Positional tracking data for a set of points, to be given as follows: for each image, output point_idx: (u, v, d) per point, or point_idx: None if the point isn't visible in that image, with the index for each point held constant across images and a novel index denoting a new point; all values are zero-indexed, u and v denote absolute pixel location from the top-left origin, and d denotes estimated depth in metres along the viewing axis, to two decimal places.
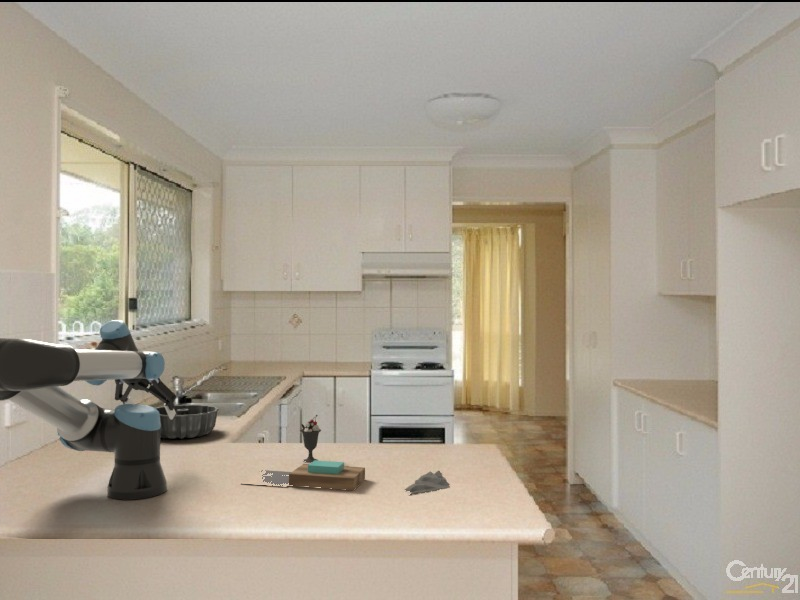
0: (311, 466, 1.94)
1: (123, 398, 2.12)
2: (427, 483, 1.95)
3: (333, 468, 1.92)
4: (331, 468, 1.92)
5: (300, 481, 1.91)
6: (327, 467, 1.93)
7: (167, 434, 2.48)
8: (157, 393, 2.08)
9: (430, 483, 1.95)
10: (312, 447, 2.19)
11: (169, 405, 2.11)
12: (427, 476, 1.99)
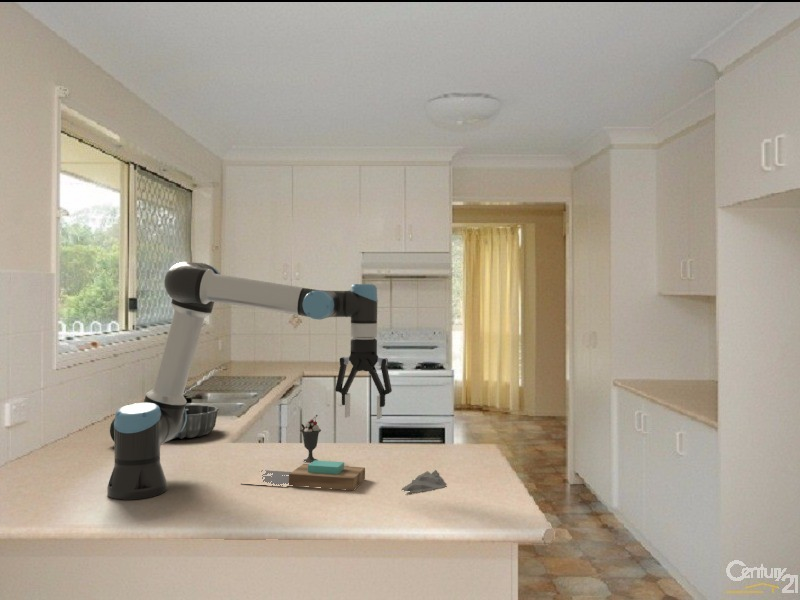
0: (311, 466, 1.94)
1: (345, 387, 1.93)
2: (424, 483, 1.96)
3: (333, 468, 1.92)
4: (331, 468, 1.92)
5: (300, 481, 1.91)
6: (327, 467, 1.93)
7: None
8: (377, 379, 1.91)
9: (427, 483, 1.96)
10: (312, 447, 2.19)
11: (382, 399, 1.91)
12: (424, 476, 2.00)
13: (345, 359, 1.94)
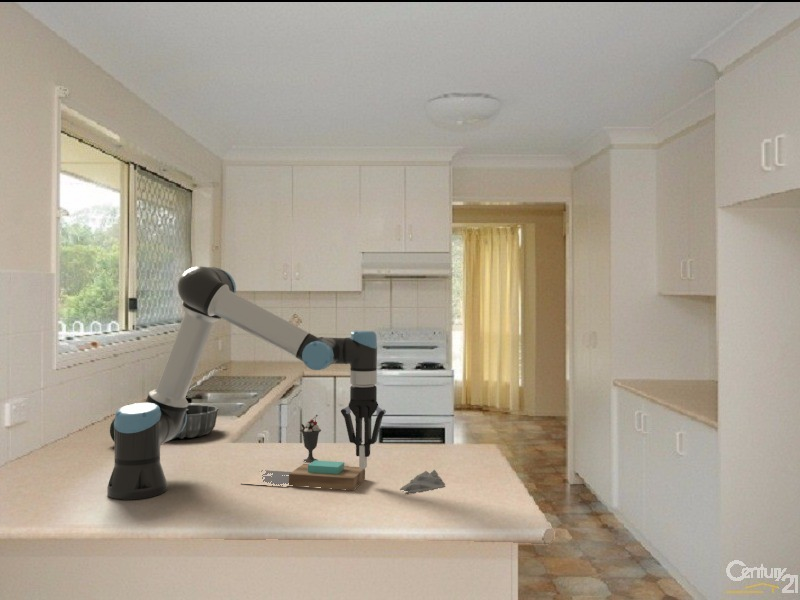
0: (311, 466, 1.94)
1: (357, 438, 1.92)
2: (422, 482, 1.96)
3: (333, 468, 1.92)
4: (331, 468, 1.92)
5: (300, 481, 1.91)
6: (327, 467, 1.93)
7: None
8: (368, 429, 1.92)
9: (425, 482, 1.96)
10: (312, 447, 2.19)
11: (367, 449, 1.92)
12: (423, 475, 2.00)
13: (346, 409, 1.94)
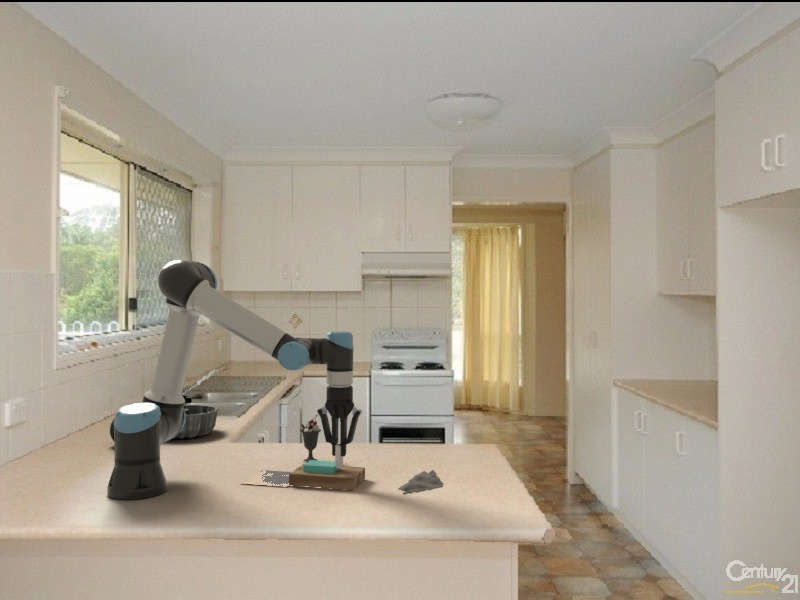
0: (307, 466, 1.94)
1: (333, 438, 1.94)
2: (421, 482, 1.96)
3: (329, 468, 1.92)
4: (327, 468, 1.93)
5: (300, 481, 1.91)
6: (323, 467, 1.93)
7: None
8: (344, 429, 1.94)
9: (424, 482, 1.96)
10: (312, 447, 2.19)
11: (343, 448, 1.94)
12: (421, 475, 2.00)
13: (322, 409, 1.95)
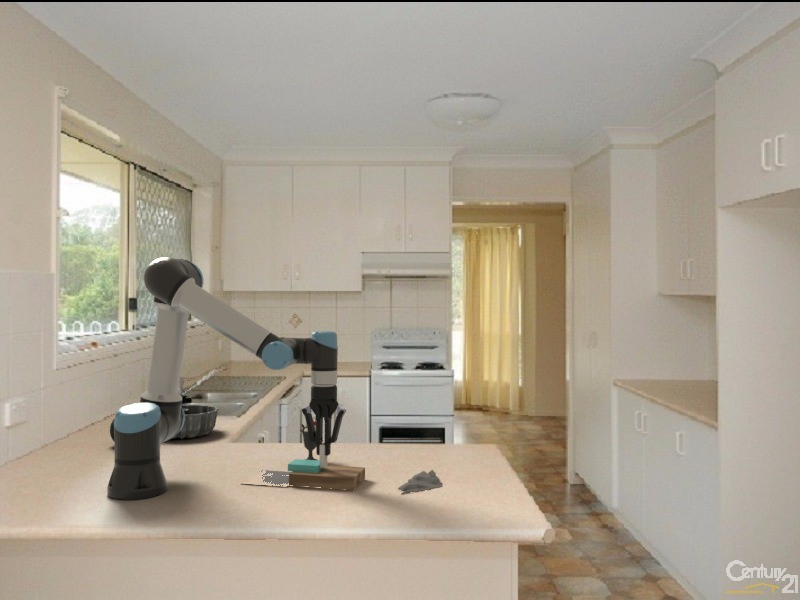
0: (291, 465, 1.95)
1: (317, 437, 1.95)
2: (420, 482, 1.96)
3: (313, 467, 1.93)
4: (311, 467, 1.94)
5: (300, 481, 1.91)
6: (307, 466, 1.94)
7: None
8: (329, 428, 1.95)
9: (423, 482, 1.96)
10: (312, 447, 2.19)
11: (327, 447, 1.95)
12: (420, 475, 2.00)
13: (307, 408, 1.96)
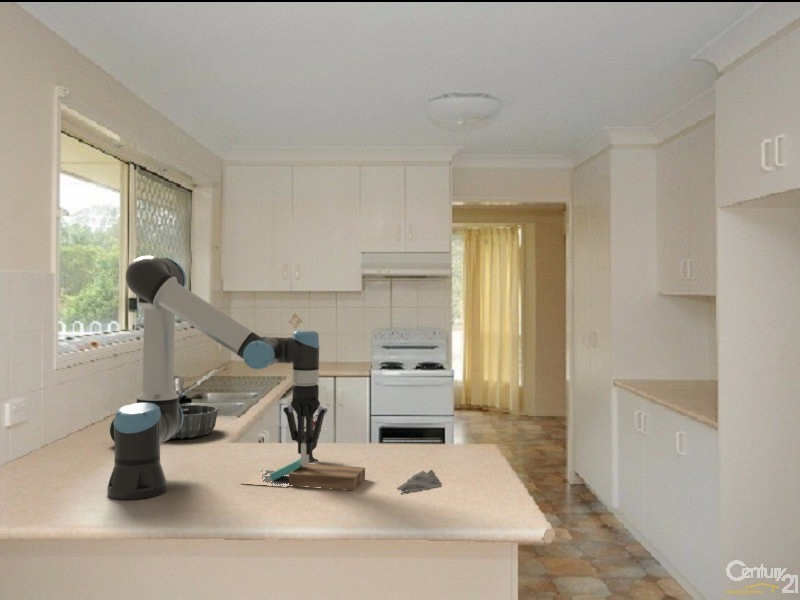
0: (273, 473, 1.96)
1: (299, 436, 1.96)
2: (419, 482, 1.96)
3: (292, 465, 1.95)
4: (290, 466, 1.95)
5: (300, 481, 1.91)
6: (287, 467, 1.95)
7: None
8: (310, 427, 1.96)
9: (422, 482, 1.96)
10: (312, 447, 2.19)
11: (308, 446, 1.96)
12: (419, 475, 2.00)
13: (289, 407, 1.98)
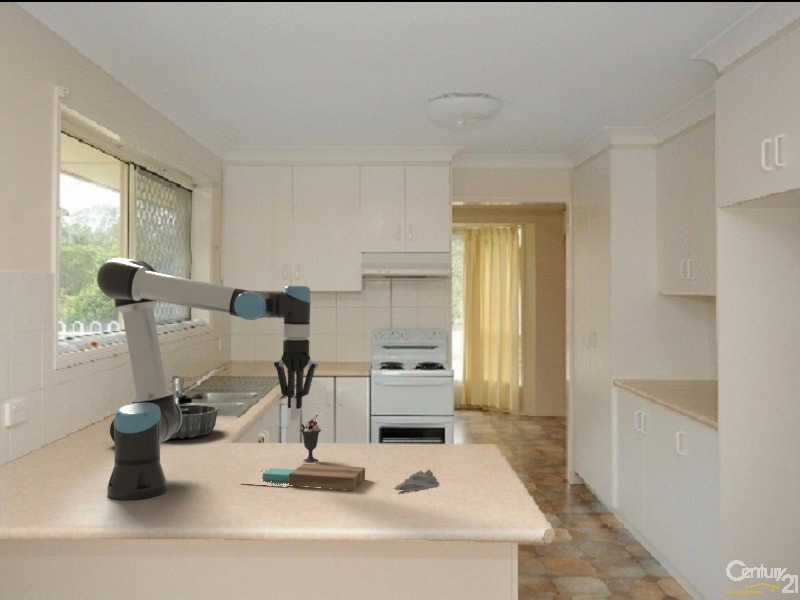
0: (266, 474, 1.97)
1: (289, 390, 1.97)
2: (417, 482, 1.97)
3: (288, 476, 1.95)
4: (286, 476, 1.95)
5: (300, 481, 1.91)
6: (282, 475, 1.96)
7: None
8: (300, 381, 1.96)
9: (420, 482, 1.96)
10: (312, 447, 2.19)
11: (298, 401, 1.97)
12: (417, 475, 2.00)
13: (279, 362, 1.98)
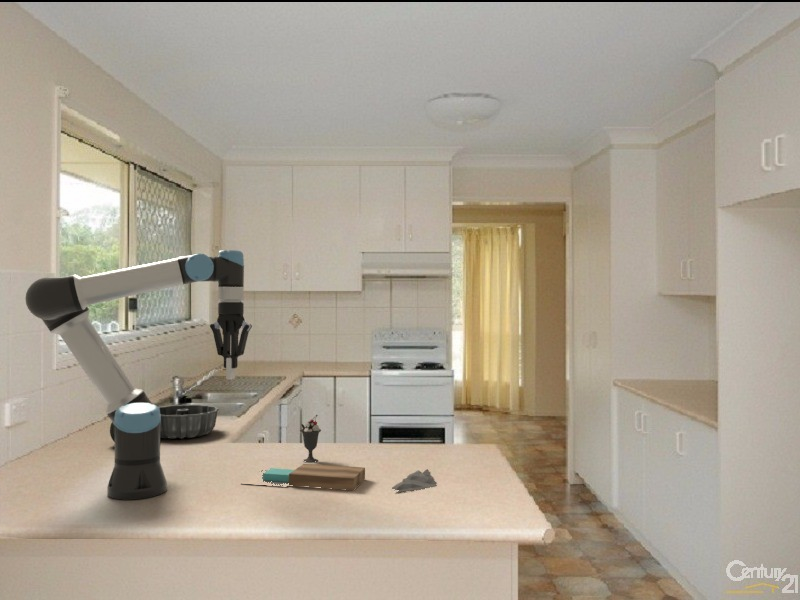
0: (266, 474, 1.97)
1: (224, 351, 2.05)
2: (414, 482, 1.97)
3: (288, 476, 1.95)
4: (286, 476, 1.95)
5: (300, 481, 1.91)
6: (282, 475, 1.96)
7: (167, 434, 2.48)
8: (235, 342, 2.05)
9: (417, 482, 1.97)
10: (312, 447, 2.19)
11: (233, 361, 2.05)
12: (415, 475, 2.01)
13: (215, 324, 2.07)
